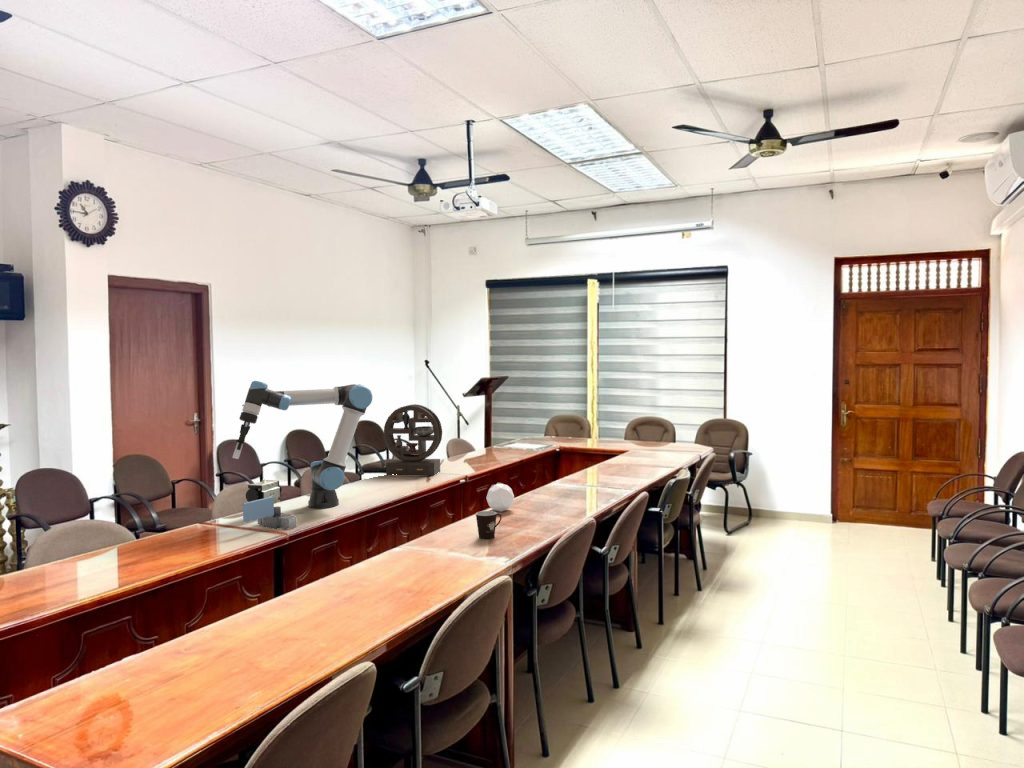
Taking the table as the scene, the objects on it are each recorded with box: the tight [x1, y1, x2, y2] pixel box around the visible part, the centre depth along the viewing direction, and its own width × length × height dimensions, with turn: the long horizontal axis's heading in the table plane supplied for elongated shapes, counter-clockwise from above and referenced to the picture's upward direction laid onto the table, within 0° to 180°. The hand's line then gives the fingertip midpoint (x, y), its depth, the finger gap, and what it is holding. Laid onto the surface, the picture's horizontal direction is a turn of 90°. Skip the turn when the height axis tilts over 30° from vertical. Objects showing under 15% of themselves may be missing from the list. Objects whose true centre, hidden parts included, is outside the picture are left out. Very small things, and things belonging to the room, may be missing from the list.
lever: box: [242, 497, 282, 523], centre depth 297 cm, size 19×4×8 cm, turn 151°
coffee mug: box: [475, 510, 502, 540], centre depth 278 cm, size 12×9×10 cm
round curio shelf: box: [383, 403, 443, 477], centre depth 439 cm, size 37×19×45 cm, turn 83°
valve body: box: [256, 512, 297, 530], centre depth 304 cm, size 8×20×5 cm, turn 61°
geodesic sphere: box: [486, 482, 515, 513], centre depth 327 cm, size 14×14×14 cm
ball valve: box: [245, 478, 283, 503], centre depth 324 cm, size 18×8×18 cm, turn 162°
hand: (235, 457), depth 309 cm, fingers open, 13 cm apart
